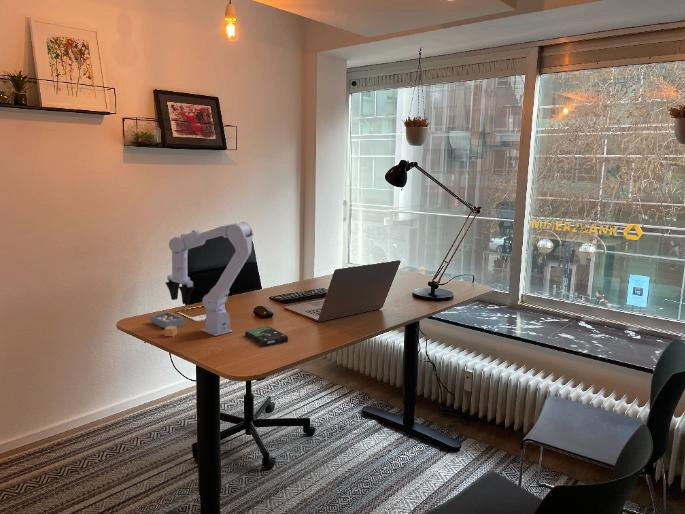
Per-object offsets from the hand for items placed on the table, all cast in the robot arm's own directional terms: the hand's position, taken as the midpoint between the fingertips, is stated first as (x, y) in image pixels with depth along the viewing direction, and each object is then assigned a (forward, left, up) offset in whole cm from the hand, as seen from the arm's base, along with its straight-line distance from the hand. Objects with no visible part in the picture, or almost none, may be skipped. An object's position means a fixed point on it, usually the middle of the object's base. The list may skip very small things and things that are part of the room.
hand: (180, 301), depth 208 cm
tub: (+7, +2, -10) cm, 13 cm away
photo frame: (+11, -16, -11) cm, 23 cm away
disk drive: (-33, -16, -11) cm, 38 cm away
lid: (-6, +8, -11) cm, 15 cm away
